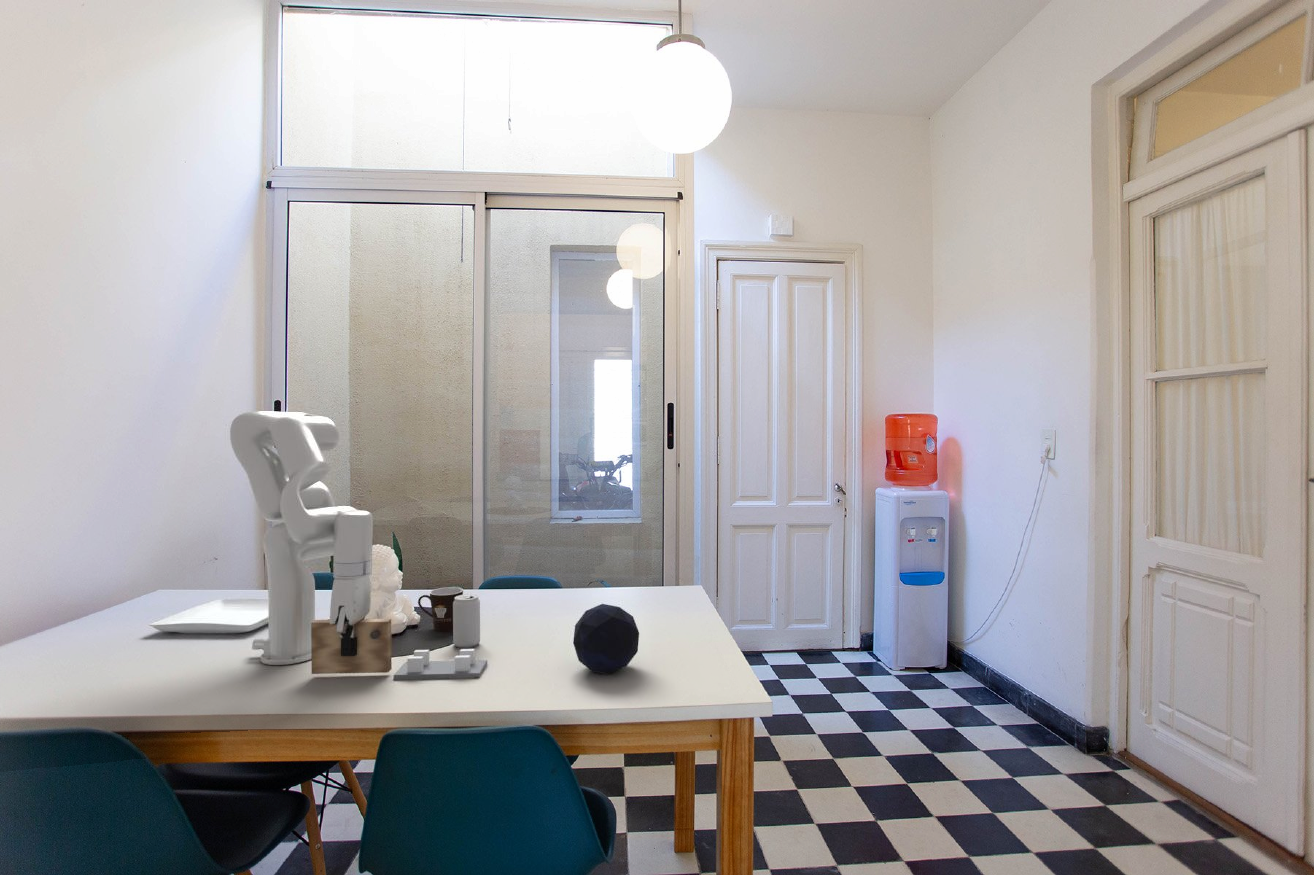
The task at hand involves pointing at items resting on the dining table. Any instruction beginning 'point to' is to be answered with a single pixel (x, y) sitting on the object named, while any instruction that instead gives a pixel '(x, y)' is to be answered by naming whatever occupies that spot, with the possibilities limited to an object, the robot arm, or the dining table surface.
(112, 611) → the dining table surface
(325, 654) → the door panel
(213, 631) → the square plate
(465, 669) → the hinge base
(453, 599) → the coffee mug
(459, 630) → the beverage can
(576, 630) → the decorative orb
